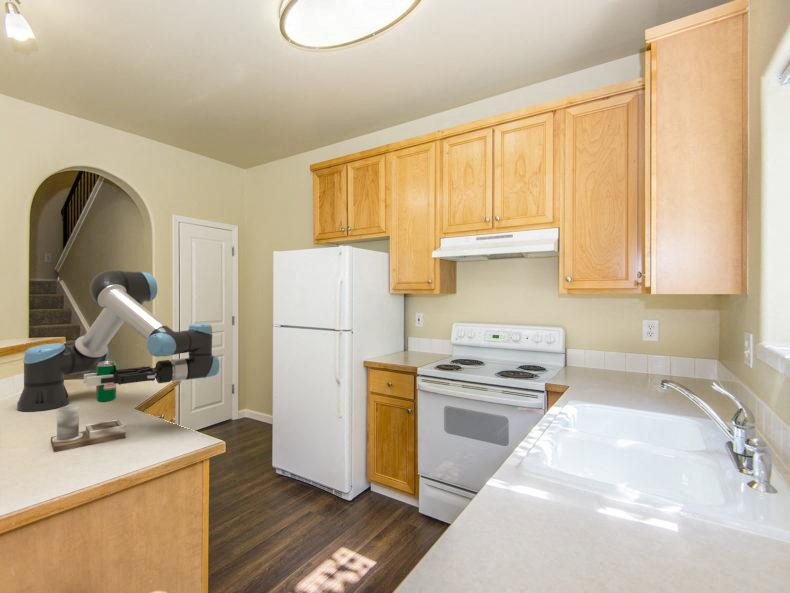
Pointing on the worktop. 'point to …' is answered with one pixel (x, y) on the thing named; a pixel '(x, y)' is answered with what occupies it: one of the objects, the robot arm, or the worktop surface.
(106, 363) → the soda can
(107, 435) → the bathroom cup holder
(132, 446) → the worktop surface
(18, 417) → the worktop surface
